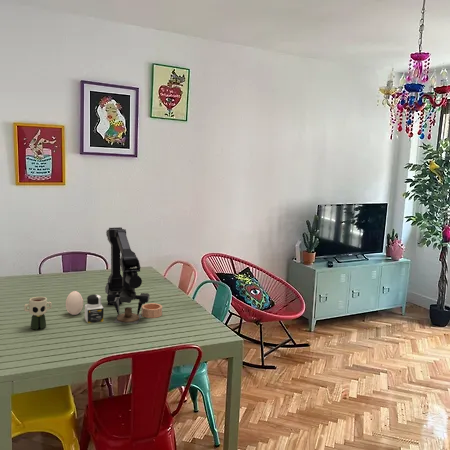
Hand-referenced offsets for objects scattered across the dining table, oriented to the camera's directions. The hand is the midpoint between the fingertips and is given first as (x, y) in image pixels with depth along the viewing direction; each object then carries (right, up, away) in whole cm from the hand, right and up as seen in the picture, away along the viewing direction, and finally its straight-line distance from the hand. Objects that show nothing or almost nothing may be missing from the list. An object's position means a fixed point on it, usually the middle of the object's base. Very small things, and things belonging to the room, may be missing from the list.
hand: (128, 314), depth 212 cm
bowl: (+10, -2, +8) cm, 12 cm away
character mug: (-36, -3, -14) cm, 39 cm away
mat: (0, -2, 0) cm, 2 cm away
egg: (-26, -1, +4) cm, 26 cm away
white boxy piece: (-15, -2, -3) cm, 16 cm away
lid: (0, -2, 0) cm, 2 cm away
